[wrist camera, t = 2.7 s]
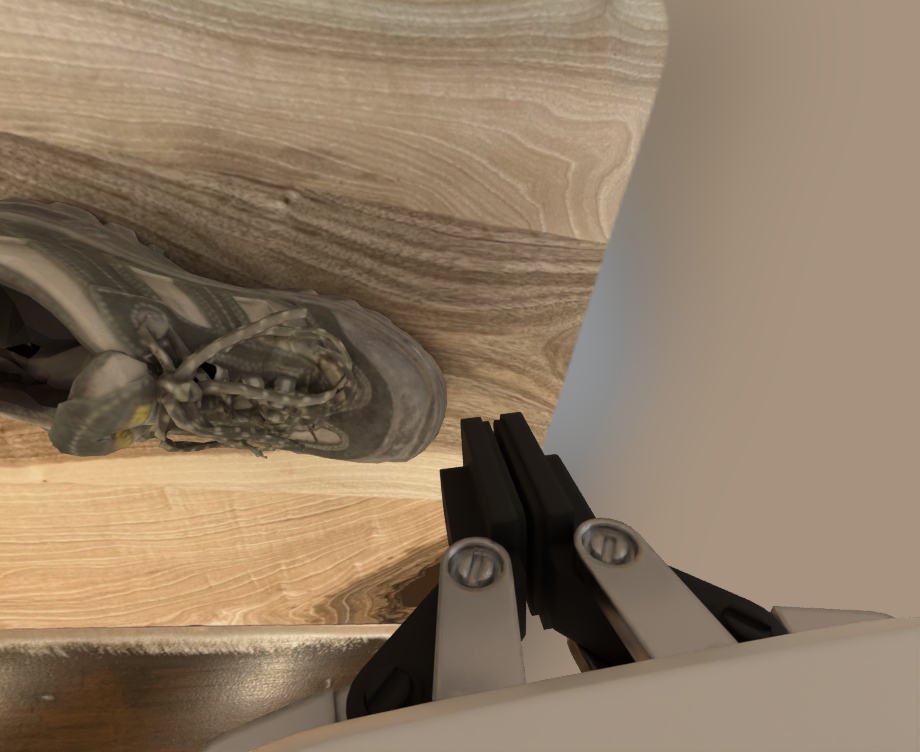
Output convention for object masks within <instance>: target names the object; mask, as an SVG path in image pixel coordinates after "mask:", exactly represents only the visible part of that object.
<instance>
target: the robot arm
mask: <svg viewBox="0 0 920 752" xmlns="http://www.w3.org/2000/svg"><path fill="white" fill-rule="evenodd" d="M493 427H494V433H493V430H492V428H491V425H490V423H489V421H484V422H482V419H481V417H474V418H466V419H461V439H462V455H463V467H455V468H448V469H440V480H441V490H442V500H443V509H444V516H445V524H446V530H447V537H448V543H449V548H448V549H447V550H446V551H445V553H444V554H443V556H442V559H441V563H440V575H439V583H438V584H437V585H436V587H435V588H434V589H433V590H432V591H431V592H430V593H429V594H428V595H427V597H426V598H425V599H424V600H423V601H422V602H421V603H420V604H419V606H418V607H417V608H416V609H415V610H414V611H413V612H412V613H411V615H410V616H409V617H408V618H407V619H406V620H405V621H404V622H403V624H402V625H401V626H400V627H399V628H398V629H397V630H396V631H395V632H394V634H393V635H392V636H391V637H390V638H389V639H388V640H387V641H386V643H385V644H384V645H383V646H382V647H381V648H380V649H379V650H378V652H377V653H376V654H375V655H374V656H373V657H372V658H371V659H370V661H369V662H368V663H367V664H366V665H365V666H364V667H363V668H362V670H361V671H360V672H359V674H358V675H357V676H356V678H355V679H354V681H353V682H352V684H351V685H349V686H346V687H344V688H342V689H339V690H337V691H335V692H333V688H332V687H329V688H327V689H325V690H322V691H320V692H317V693H315V694H313V695H310V696H308V697H306V698H303V699H301V700H299V701H296V702H294V703H292V704H289V705H287V706H285V707H282V708H280V709H278V710H275V711H273V712H271V713H268V714H266V715H264V716H261V717H259V718H257V719H254V720H252V721H250V722H247V723H245V724H243V725H240V726H238V727H236V728H233V729H231V730H229V731H226V732H224V733H222V734H220V735H219V736H217V737H215V738H214V739H212V740H211V741H209V742H207V743H206V744H205V745H204V746H203V747H202V748H201V749H200V750H199V751H198V752H920V617H912V618H911V617H909V618H894V617H892V616H890V615H887V614H883V613H878V612H873V611H860V610H840V609H820V608H819V609H818V608H800V607H780V606H773V608H772V610H771V612H768V611H767V610H765V609H764V608H763V607H761V606H759V605H757V604H755V603H753V602H751V601H749V600H747V599H745V598H743V597H740V596H738V595H735V594H733V593H731V592H728V591H726V590H724V589H722V588H719V587H717V586H715V585H712V584H710V583H708V582H706V581H703V580H701V579H699V578H696V577H694V576H691V575H689V574H687V573H685V572H682V571H680V570H678V569H675V568H673V567H671V566H668V565H667V564H666V563H665V562H664V561H663V560H662V559H661V557H660V556H659V555H658V554H657V553H656V552H655V551H654V550H653V549H652V547H651V546H650V545H649V544H648V543H647V542H646V541H645V540H644V539H643V538H642V536H641V535H640V534H639V533H638V532H636V531H635V530H634V529H633V528H632V527H630V526H628V525H626V524H624V523H623V522H620V521H617V520H614V519H609V518H596V517H595V516H594V514H593V512H592V511H591V509H590V508H589V506H588V504H587V502H586V501H585V499H584V497H583V496H582V494H581V492H580V491H579V489H578V487H577V486H576V484H575V482H574V481H573V479H572V477H571V476H570V474H569V472H568V471H567V469H566V467H565V466H564V464H563V462H562V461H561V459H560V457H559V456H558V455H556V454H552V455H544V453H543V451H542V450H541V448H540V446H539V444H538V442H537V440H536V439H535V437H534V435H533V433H532V431H531V429H530V428H529V426H528V424H527V422H526V420H525V419H524V417H523V415H522V413H521V412H515V413H507V414H501V415H500V420H494V424H493ZM526 601H527V604H528V607H529V610H530V613H531V615H532V616H534V615H539V617H540V620H541V622H542V625H543V628H544V630H546V629H551V628H554V630H556V631H557V632H559V633H561V634H563V635H564V636H566V637H567V644H568V647H569V649H570V652H571V654H572V656H573V658H574V659H575V661H576V663H577V665H578V667H579V669H580V671H581V673H578V674H573V675H567V676H562V677H557V678H552V679H546V680H541V681H537V682H531V683H526V678H525V670H524V662H523V653H522V645H521V641H522V640H523V638H524V637H525V635H526Z"/></svg>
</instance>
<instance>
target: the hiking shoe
mask: <svg viewBox="0 0 920 752" xmlns="http://www.w3.org/2000/svg"><path fill="white" fill-rule="evenodd" d="M164 253H165V250H163V249H161V248H159V247H157V246H156V245H154V244H152V245H147V246H144V245H143V244H141V243H140V242H138V239H137V236H136V234H135V232H134V231H133V230H130V229H128V228H125V227H123V226H121V225H118V224H116V223H113V222H110V223H107V224H105V225H102V224H101V223H100V222H99V221H98V220H97V218H96V217H95V216H94V215H93V214H91V213H89V212H87V211H85V210H83V209H81V208H78V207H75V206H71V205H68V204H64V203H61V202H55V203H51V204H48V205H45V204H43V203H40V202H37V201H34V200H32V199H22V198H10V199H4V200H0V416H1V417H5V418H9V419H13V420H16V421H20V422H24V423H28V424H31V425H35V426H39V427H41V428H43V429H44V430H46V431H48V432H49V437H50V440H51V442H52V443H53V446H54V447H56V448H57V449H58V450H59V451H60V452H61V453H65V454H71V455H77V456H101V455H108V454H110V453H113V452H115V451H118V450H120V449H122V448H124V447H127V446H129V445H131V444H132V443H133V442H135V441H137V442H142V441H145V440H148V439H151V438H156V439H161V442H160V445H159V447H161V448H163V449H165V450H167V451H169V452H189V451H199V450H204V449H209V448H221V447H231V448H238V449H249V450H251V451H252V452H254V454H255V455H256V456H257V457H260V456H261V457H263V458H266V459H267V456H264V455H263V453H262V452H261V451H275V449H282V450H288V451H292V452H294V453H297V454H310V455H315V456H319V457H324V458H330V459H337V460H344V461H351V462H358V463H382V462H387V461H388V462H407V461H409V460H410V459H412V458H414V457H416V456H417V455H418V454H420V453H421V452H423V451H424V450H425V449H426V448H427V447H428V445H429V444H430V443H431V442H432V441H433V440H434V438H435V437H436V436H437V435H438V433H439V430H440V427H441V425H442V422H443V419H444V417H445V412H446V406H447V392H446V382H445V379H444V376H443V373H442V371H441V369H440V368H439V366H438V365H437V363H436V362H435V360H434V359H433V357H432V356H431V355H430V354H428V353H427V352H426V351H425V350H424V349H423V347H422V345H421V344H419V343H418V342H416V341H415V340H414V339H413V338H412V337H411V336H410V335H409V334H407V333H406V332H404V331H402V330H401V329H399V328H397V327H396V326H394V325H393V323H392V322H391V320H390V319H388V318H387V317H385V316H383V315H381V314H380V313H378V312H376V311H373V310H370V309H367V308H363V307H361V306H360V305H359V304H358V302H357V301H355V300H352V299H349V298H345V297H342V296H339V295H332V296H328V295H318V294H317V293H316V292H315V291H314V290H312V289H301V288H292V289H275V288H259V289H254V288H244V287H239V286H234V285H229V284H226V283H222V282H219V281H215V280H212V279H208V278H205V277H201V276H198V275H195V274H192V273H189V272H187V271H185V270H184V269H182V268H181V267H179V266H178V265H176V264H175V263H173V262H172V261H170V260H169V259H167V258H166V257H165V256H164ZM170 434H174V435H191V436H197V437H201V438H207V439H211V440H215V441H211V442H206V443H199V442H189V441H179V442H173V441H172V440H170V439H168V438H167V435H170ZM248 443H249V444H255V445H260V446H264V447H266V448H259V447H253V446H251V445H249V444H248Z"/></svg>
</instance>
